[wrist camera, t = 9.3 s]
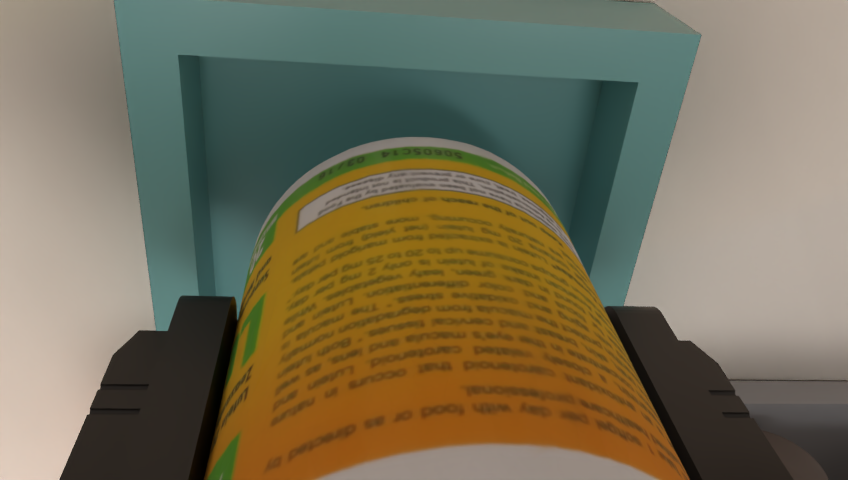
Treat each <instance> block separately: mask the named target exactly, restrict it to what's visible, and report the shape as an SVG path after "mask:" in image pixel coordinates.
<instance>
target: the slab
mask: <svg viewBox="0 0 848 480" xmlns="http://www.w3.org/2000/svg"><path fill="white" fill-rule="evenodd" d="M762 432H763V433H764V435H765V437H766V438H767V440H768V441H769V443H770V444H771V446H772V447H773V449H774V450H775V452H776V453H777V455H778V456H779V458H780V460H781V461H782V463H783V464H784V466H785V467H786V469H787V470H788V472H789V473H790V475H791V476H792V478H793V479H794V480H829V479H828V477H827V475H826V473H825V472H824V470H823V469H822V467H821V466H820V465H819V463H818V462H817V461H816V460H815V459H814V458H813V457H812V456H811V455H810V454H808V453H807V452H806V451H805V450H803V449H802V448H801V447H799V446H798V445H796V444H795V443H793V442H791V441H789V440H787V439H785V438H783V437H781V436H779V435H776V434H774V433H770V432H767V431H763V430H762Z"/></svg>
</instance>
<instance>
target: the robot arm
mask: <svg viewBox="0 0 848 480" xmlns="http://www.w3.org/2000/svg"><path fill="white" fill-rule="evenodd" d="M604 309H605V311H606V313H607V315H608V317H609V319H610V321H611V323H612V325H613V327H614V329H615V331H616V333H617V335H618V337H619V339H620V341H621V343H622V345H623V347H624V349H625V351H626V353H627V355H628V357H629V359H630V361H631V363H632V365H633V367H634V369H635V371H636V373H637V375H638V377H639V379H640V381H641V383H642V385H643V387H644V389H645V391H646V393H647V395H648V397H649V399H650V401H651V403H652V405H653V407H654V409H655V411H656V413H657V415H658V417H659V419H660V421H661V423H662V425H663V427H664V429H665V431H666V433H667V435H668V437H669V439H670V441H671V444H672V446H673V448H674V450H675V452H676V454H677V455H678V457H679V459H680V461H681V463H682V465H683V467H684V469H685V471H686V473H687V475H688V476H689V478H690V480H794V479H793V478H792V476H791V475H790V473H789V472H788V470H787V469H786V467H785V466H784V464H783V463H782V461H781V460H780V458H779V456H778V455H777V453H776V452H775V450H774V449H773V447H772V446H771V444H770V443H769V441H768V440H767V438H766V437H765V435H764V433H763V432H762V430H761V429H760V427H759V426H758V424H757V423H756V421H755V420H754V418H750V415H749V414H750V412H749V410H748V409H747V407H746V406H745V404H744V403H743V401H742V400H741V398H740V397H739V396H736V395H735V389H734V387H733V386H732V384H731V383H730V381H729V380H728V378H727V377H726V375H725V374H724V372H723V371H722V369H721V367H720V366H719V364H718V363H716V362H715V361H714V360H713V359H712V358H710V357H709V356H708V355H707V354H706V353H704V352H703V351H702V350H701V349H700V348H698V347H697V346H696V345H695V344H693V343H692V342H691V341H678V339H677V338H676V336H675V334H674V333H673V331H672V329H671V328H670V326H669V325H668V323H667V321H666V320H665V318H664V316H663V315H662V313H661V312H660V310H658V309H657V308H655V307H634V306H606V307H604ZM237 322H238V320H237V305H236V299H235V297H233V296H188V295H182V296H180V298H179V300H178V302H177V305H176V308H175V311H174V314H173V317H172V319H171V322H170V325H169V328H168V331H138V332H137V333H136V334H135V335H134V336H133V337H132V338H131V339H130V340H129V341H128V342H127V343H125V344H124V345H123V346H122V347H121V348H120V349H119V350H118V351H117V352H116V353H115V354H114V355H113V356H112V359H111V361H110V363H109V366H108V368H107V370H106V373H105V375H104V377H103V380H102V382H101V388H100V390H98V391H97V393H96V396H95V398H94V400H93V403H92V405H91V407H90V414H89V415H87V417H86V419H85V421H84V424H83V426H82V428H81V431H80V433H79V435H78V438H77V440H76V442H75V445H74V447H73V449H72V452H71V454H70V456H69V459H68V461H67V463H66V466H65V468H64V470H63V473H62V475H61V477H60V480H204V476H205V472H206V467H207V463H208V458H209V453H210V449H211V444H212V440H213V436H214V431H215V427H216V422H217V418H218V413H219V409H220V404H221V399H222V394H223V389H224V384H225V379H226V375H227V370H228V365H229V361H230V355H231V350H232V345H233V340H234V336H235V331H236V326H237Z"/></svg>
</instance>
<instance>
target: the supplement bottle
mask: <svg viewBox="0 0 848 480" xmlns="http://www.w3.org/2000/svg"><path fill="white" fill-rule="evenodd" d="M204 480H690V478H689V476H688V475H687V473H686V471H685V469H684V467H683V465H682V463H681V461H680V459H679V457H678V455H677V454H676V452H675V450H674V448H673V446H672V444H671V441H670V439H669V437H668V435H667V433H666V431H665V429H664V427H663V425H662V423H661V421H660V419H659V417H658V415H657V413H656V411H655V409H654V407H653V405H652V403H651V401H650V399H649V397H648V395H647V393H646V391H645V389H644V387H643V385H642V383H641V381H640V379H639V377H638V375H637V373H636V371H635V369H634V367H633V365H632V363H631V361H630V359H629V357H628V355H627V353H626V351H625V349H624V347H623V345H622V343H621V341H620V339H619V337H618V335H617V333H616V331H615V329H614V327H613V325H612V323H611V321H610V319H609V317H608V315H607V313H606V311H605V309H604V307H603V305H602V303H601V301H600V299H599V297H598V295H597V293H596V291H595V289H594V287H593V285H592V283H591V281H590V279H589V277H588V275H587V273H586V271H585V269H584V267H583V264H582V262H581V260H580V258H579V256H578V254H577V252H576V250H575V248H574V246H573V244H572V242H571V240H570V238H569V236H568V234H567V232H566V230H565V228H564V226H563V224H562V223H561V221H560V219H559V218H558V216H557V214H556V212H555V211H554V209H553V207H552V206H551V204H550V203H549V201H548V200H547V198H546V197H545V196H544V194H543V193H542V192H541V191H540V190H539V188H538V187H537V186H536V185H535V184H534V183H533V182H532V181H531V180H530V179H529V178H528V177H527V176H525V175H524V174H523V173H522V172H521V171H520V170H518V169H517V168H516V167H514V166H513V165H511V164H510V163H508V162H507V161H505V160H504V159H502V158H500V157H498V156H496V155H494V154H492V153H491V152H489V151H486V150H484V149H481V148H479V147H476V146H473V145H470V144H467V143H462V142H458V141H453V140H447V139H441V138H432V137H400V138H391V139H385V140H379V141H374V142H370V143H366V144H363V145H360V146H357V147H354V148H351V149H348V150H346V151H344V152H342V153H340V154H338V155H336V156H334V157H331V158H329V159H328V160H326V161H324V162H322V163H321V164H319V165H317V166H316V167H314V168H313V169H311V170H310V171H308V172H307V173H306V174H304V175H303V176H302V177H301V178H299V179H298V180H297V181H296V182H295V183H294V184H293V185H292V186H291V187H290V188H289V189H288V190H287V191H286V192H285V193H284V194H283V196H282V197H281V198H280V199H279V200H278V202H277V203H276V204H275V206H274V207H273V209H272V210H271V212H270V213H269V215H268V217H267V219H266V220H265V222H264V224H263V226H262V228H261V230H260V233H259V235H258V238H257V241H256V244H255V247H254V251H253V254H252V257H251V261H250V265H249V269H248V274H247V279H246V284H245V288H244V293H243V297H242V302H241V307H240V312H239V317H238V322H237V326H236V331H235V336H234V340H233V345H232V350H231V355H230V361H229V365H228V370H227V375H226V379H225V384H224V389H223V394H222V399H221V404H220V409H219V413H218V418H217V422H216V427H215V431H214V436H213V440H212V444H211V449H210V453H209V458H208V463H207V467H206V472H205V476H204Z"/></svg>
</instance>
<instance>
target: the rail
mask: <svg viewBox="0 0 848 480" xmlns="http://www.w3.org/2000/svg"><path fill="white" fill-rule="evenodd" d="M730 383H731V384H732V386H733V387H734V389H735V395H736V396H739V397H740V398H741V400H742V401H743V403H744V404H745V406H746V407H747V409H748V410H749V412H750V414H749V415H750V418H754V420H755V421H756V423H757V424H758V426H759V427H760V429H761V430H763V431H767V432H770V433H774V434H776V435H779V436H781V437H783V438H785V439H787V440H789V441H791V442H793V443H795V444H796V445H798V446H799V447H801V448H802V449H803V450H805V451H806V452H807V453H808V454H810V455H811V456H812V457H813V458H814V459H815V460H816V461H817V462H818V463H819V465H820V466H821V467H822V469H823V470H824V472H825V473H826V475H827V477H828V479H829V480H848V381H730Z"/></svg>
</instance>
